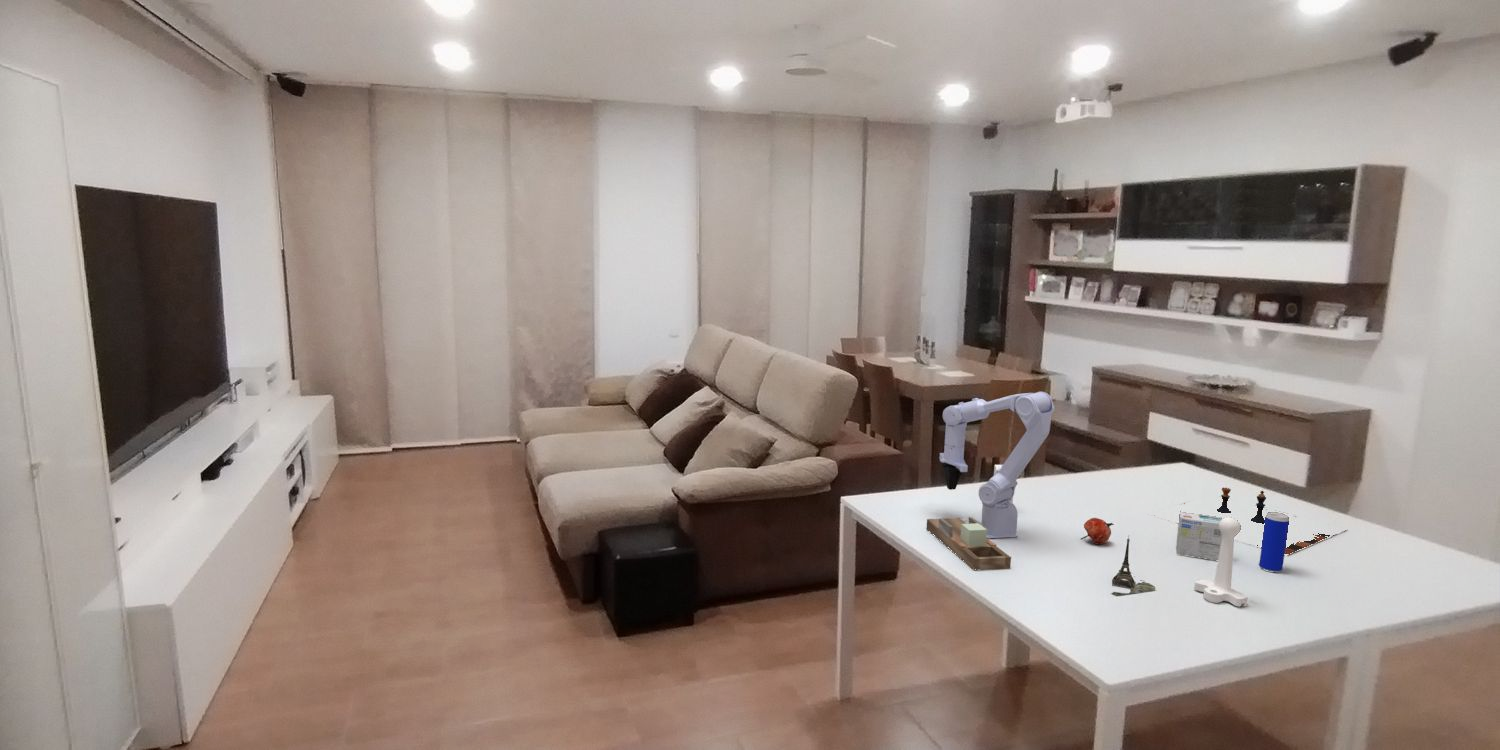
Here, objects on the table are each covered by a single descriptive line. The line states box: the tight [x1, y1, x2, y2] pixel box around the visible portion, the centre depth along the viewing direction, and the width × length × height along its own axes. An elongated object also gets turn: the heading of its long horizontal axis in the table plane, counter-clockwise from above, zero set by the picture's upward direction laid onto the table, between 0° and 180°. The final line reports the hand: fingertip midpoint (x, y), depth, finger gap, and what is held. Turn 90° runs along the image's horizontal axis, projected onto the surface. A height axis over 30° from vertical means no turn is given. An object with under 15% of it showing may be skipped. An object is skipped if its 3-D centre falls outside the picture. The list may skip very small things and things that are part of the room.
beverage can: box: [1258, 512, 1289, 573], centre depth 212 cm, size 5×5×15 cm
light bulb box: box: [1175, 511, 1223, 561], centre depth 221 cm, size 11×7×11 cm, turn 65°
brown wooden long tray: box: [926, 516, 1012, 571], centre depth 222 cm, size 10×30×6 cm, turn 11°
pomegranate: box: [1080, 517, 1114, 545], centre depth 229 cm, size 7×7×10 cm
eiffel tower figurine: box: [1110, 535, 1157, 597], centre depth 200 cm, size 15×10×13 cm
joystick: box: [1193, 517, 1248, 607], centre depth 192 cm, size 11×8×20 cm
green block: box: [960, 523, 987, 547], centre depth 218 cm, size 5×5×4 cm
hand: (951, 488), depth 244 cm, fingers closed
